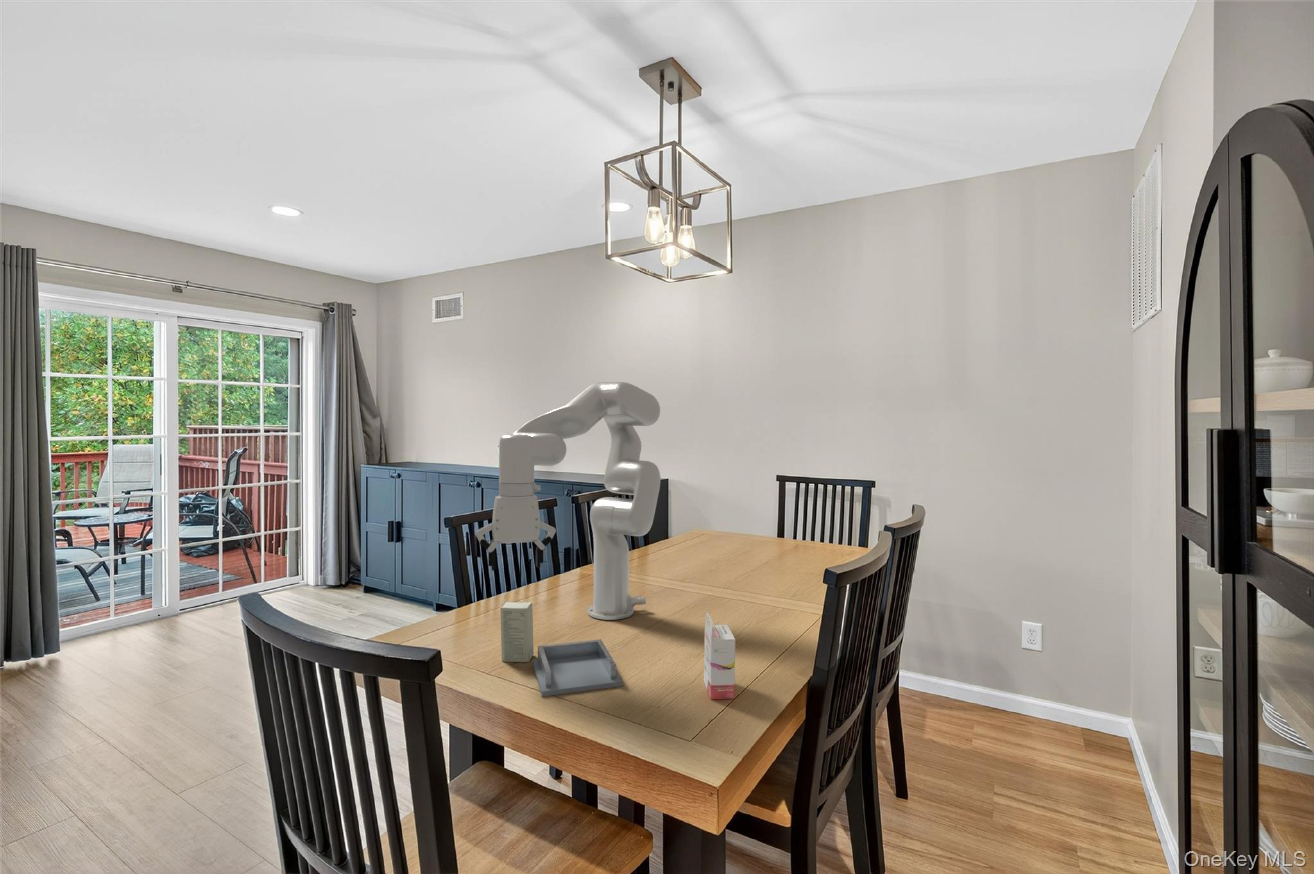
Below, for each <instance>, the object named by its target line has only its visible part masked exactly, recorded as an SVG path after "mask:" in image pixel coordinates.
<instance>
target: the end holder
mask: <svg viewBox="0 0 1314 874" xmlns="http://www.w3.org/2000/svg"><path fill="white" fill-rule="evenodd" d="M532 666H533V670H534V673H535V677H536V680H537V684H538V689H539V691H540V695H541V697H550V696H556V695H557V696H559V695H566V694H573V693H579V692H587V691H594V690H602V689H603V690H604V689H611V688H617V687H623V680H622V678H621V677H620V674H619V673H618V671H617V664H616V662H615V660H614V659H613V657H612V656H611V654H610V652H609V650H608V648H607V647H606V645H605V644H604V641H603V640H602V639H590V640H583V641H581V640H580V641H573V642H572V641H571V642H565V643H564V642H563V643H556V644H555V643H554V644H545V645H537V658H533V659H532Z"/></svg>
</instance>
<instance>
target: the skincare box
mask: <svg viewBox="0 0 1314 874" xmlns="http://www.w3.org/2000/svg"><path fill="white" fill-rule="evenodd" d="M499 608H500V642H501V643H500V645H501V662H513V663H514V662H518V663H528V662H529V661H530V660H531V659H532V657H533V656H534V619H533V617H534V616H533V612H534V611H533V601H506V602H505V603H503V604H502V605H501V606H500V607H499Z"/></svg>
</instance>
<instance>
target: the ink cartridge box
mask: <svg viewBox="0 0 1314 874" xmlns="http://www.w3.org/2000/svg"><path fill="white" fill-rule="evenodd" d="M704 622H705V623H704V654H703V655H704V657H703V659H704V660H703V664H704V665H703V682H704V685H705V687H706V691H707V693H708V696H709V697H710V699H711V700H734V699H735V688H736V687H735V686H736V685H735V681H736V680H735V677H736V676H735V675H736V674H735V673H736V672H735V671H736V666H735V665H736V663H735V662H736V638H735V636H734V634H733V632H732V631H731V629H730V626H729V625H728V624H714V623H713V620H712V618H711V616H710V614H709V611H706V613H705V621H704Z"/></svg>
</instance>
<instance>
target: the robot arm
mask: <svg viewBox="0 0 1314 874" xmlns="http://www.w3.org/2000/svg"><path fill="white" fill-rule="evenodd" d="M660 416H661V407H660V403H659V401H658V399H657V398H656V397H655V396H654V395H653V394H651V393H649V392H647V391H646V390H644V389H642V388H641V387H638V386H636V385H634V384H632V383H629V382H625V381H600V382H594V383H593V384H590V385H589V386H587V387H586V388H585V389H584V390H583V391H581V392H580V393H579V394H578V395H576V396H574V398H573V399H571V400H570V401H569V402H568V403H566V404H565V405H563V406H561V407H558V408H555V409H553V410H551V411H549V412H546V413H544V414H541V415H538V416H537V417H534V418H533V419H530V420H529V421H527V422H526V423H524V424H523V425H521V427H519V428H518V429H517V430H516V431H515V432H513V433H511V434H508V433H507V434H503V435H502V436H501V437H500V438H499V442H498V443H499V444H498V446H499V447H498V452H499V454H498V456H499V457H498V462H499V463H498V496H497V495H495V498H494V502H493V510H492V519H491V521H492V522H491V523H487V524H486V525H485V526H483V527H480V528H479V529H477V530H476V531H475V532H474V534H475V536H476V538H477V540H478V543H480V545H481V546H482V548H484V549H485V550H486V551H487V553H488V554H487V555H488V562H487V565H488V567H491V571H496V556H497V555H496V554H497V553H496V550H495V549H496V548H497V546H499V544H514V543H515V544H517V543H519V544H520V543H534V544H535V545H536V548H535V566H536V568H537V569H541V564H544V550H545V548H546V547H547V546H549V544H550V543H551V542H552V540H553V538H554V536H555V534H556V532H557V530H556V527H554V526H552V525H549V524H547V523H545V522H543V521H541V518H540V509H539V500H538V496H537V495H535V493H536V492H540V491H541V489H542V487H541V484H536V482H535V467H536V466H541V467H553V466H556V465H559V464H560V463H561V462H563V460H564V459H565V457H566V456H567V445H566V442H565V440H566V439H571V438H572V439H573V438H576V437H579V436H582V435H585V434H586V433H587V432H589V431H590V430H591V429H592V428H593V427H594V426H595V425H596V424H597V423H599V421H601V420H602V419H604V422H605V423H606V426H607V428H608V430H609V434H610V438H611V439H610V440H611V442H610V449H609V454H608V459H607V463H606V468H605V470H604V478H603V485H604V487H605V489H606V490H607V491H608V492H611V493H613V494H620V495H630V496H633V499H632V498H624V497H613V496H604V497H601V498H598V499H597V500H595V501H594V502H593V503H592V505H591V507H590V511H589V520H590V525H591V530H592V538H593V540H592V541H593V604H591V605H590V606H589V607H588V608H587V614H588V615H589V616H590V617H592V618H593V619H598V620H603V621H605V620H606V621H615V620H622V619H626V618H629V617H631V616H632V615H634V613H635V606H641V605H646V604H647V599H646V597H639V596H638V595H635V596H631V595H630V594H629V587H630V585H629V583H630V582H629V581H630V580H629V578H630V577H629V575H630V573H629V572H630V571H629V570H630V569H629V568H630V567H629V566H630V565H629V564H630V562H629V561H630V560H629V557H630V550H629V549H630V548H629V544H628V541H627V539H626V536H632V537H643V536H646V534H648V533H649V531H651V528H652V526H653V523H654V519H655V513H656V510H657V509H656V508H657V504H658V499H659V493H660V490H661V489H660V488H661V471H660V470H659V467H658V466H657V465H656V464H655V463H654V462H652V461H649V460H640V458H641V453H642V441H641V439H640V436H639V434H638V432H637V431H636V429H635V428H634V426H637V427H648V426H649V427H650V426H652V425H655V423H656V422H657V421H658V420H659V418H660ZM541 529H542V530H544V531H546V532H547V534H546V536H545V537H543V539H542V540H541V539H540V537H541ZM490 531H491V536H492V539H491V541H490V542H489V541H488V540H486V539H485V537H484V535H485V534H487V533H488V532H490Z"/></svg>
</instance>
